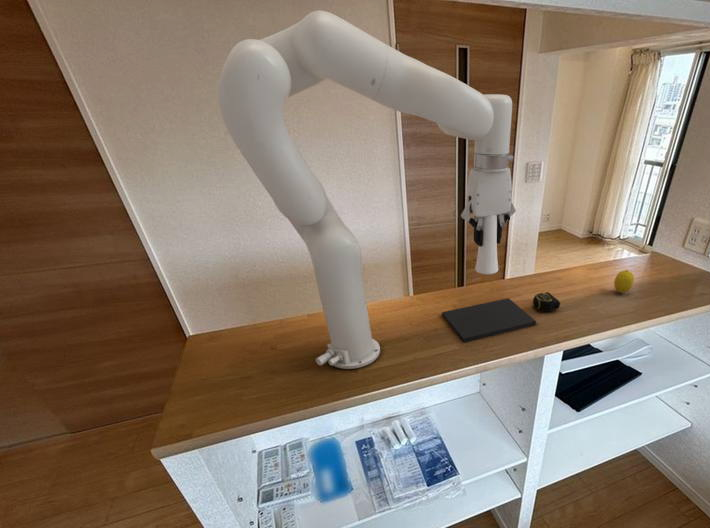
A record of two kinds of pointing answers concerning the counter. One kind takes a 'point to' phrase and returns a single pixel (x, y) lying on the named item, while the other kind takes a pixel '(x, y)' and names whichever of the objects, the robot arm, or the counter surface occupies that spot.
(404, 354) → the counter surface
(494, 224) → the cosmetic bottle
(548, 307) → the tape measure
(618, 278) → the lemon
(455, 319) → the mat
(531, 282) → the counter surface
